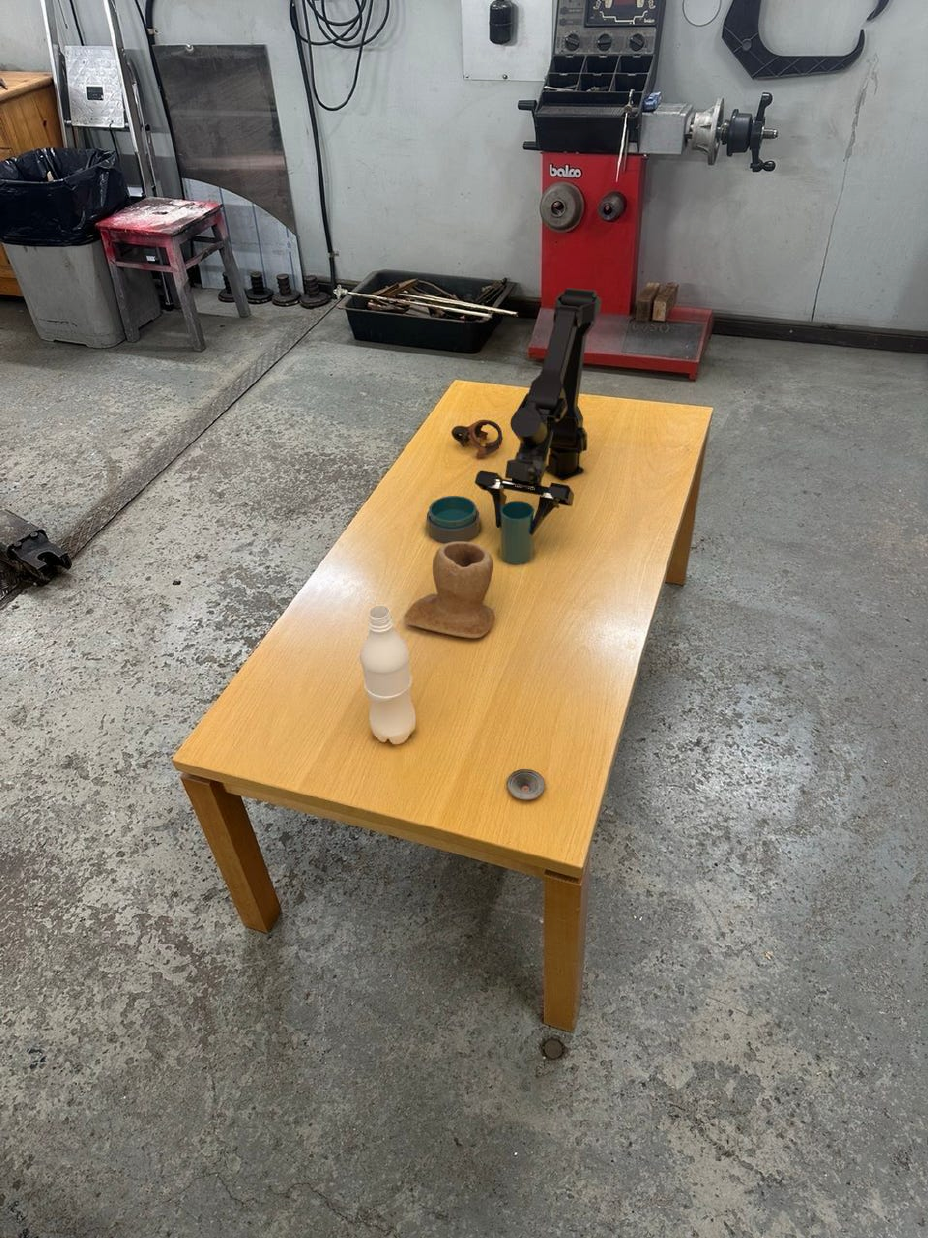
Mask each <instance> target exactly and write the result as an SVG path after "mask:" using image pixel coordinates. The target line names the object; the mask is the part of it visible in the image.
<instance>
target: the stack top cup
mask: <svg viewBox="0 0 928 1238" xmlns="http://www.w3.org/2000/svg"><path fill="white" fill-rule="evenodd" d="M476 508H477V505H476V504H475V502H474V501H472V500H471V499H470V498H467V497H465V496H460V495H448V496H443V497H440V498H438V499H435V500H434V501H432V502H431V504H430V505H429V509H428V511H429V518H430V521H431V522H432V523H433V524H434V525H436V526H438V527H440V528H445V529H458V528H463V527H466V526H468V525H470V524H471V523H473V522H474V521H475V519H476Z"/></svg>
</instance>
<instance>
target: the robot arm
mask: <svg viewBox="0 0 928 1238" xmlns="http://www.w3.org/2000/svg"><path fill="white" fill-rule="evenodd" d="M601 308H602V297H600V296H598V292H597V291H596V290H589V289H580V288H570V287H567V288H566V289H565V290H564V292H563V293H559V294H558V295H557V296H556V297H555V298H554V311H553V312H554V313H553V318H552V319H553V321H552V322H553V326H552V330H551V333H550V338H549V340H548V345H547V349H546V352H545V357H544V359H543V364H542V368H541V371H540V374H539V375H538V376H537V377H535V379H533V380H532V382H531V384H530V386H529V390H528V392H527V393H526V394H525V395H524V397H523V399H522V401H521V403H520V405H519V407H518V408H517V410H516V411H515V412H514V413H513V414H512V416H511V418H510V424H509V425H510V428H511V431H512V432H513V434H514V435H515V436H516V438H517V439H518V440H519V441H520V443H519V447H518V450H517V451H516V453H515V457H514V459H509V460H507V461H506V467H505V468H506V469H505V475H504V478H502V476H500V474H499V473H498V472H494V471H489V470H480V471H478V472H477V473H476V475H475V480H474V484H475V485H476V486H477V487H478V488H479V489H480V490H483V491H486V492H488V494H490V495H491V497H492V501H493V506H494V518H495V528H497V529H500V508H501V507H502V506H503V505H504V504H506V503H507V497H508V495H506V494H505V492H506V490H508V491H514V492H519V493H524V494H530V495H535V496H539V497H538V498H539V499H538V506H537V508H536V512H535V514H534V521H533V524H532V527H531V532H530V534H531V535H533V534H534V535H535V533H536V532H537V530H538V529H539V528H540V526H541V524H542V523H543V522H544V520H545V519H546V518H547V517H548V515H549V514H550V513H551V512H552V511H553V510H554V509H559V508H560V505H563V506H568V507H572V506H573V503H574V500H575V492H574V491H573V490H572V488H571V487H570V485H569V484H562V483H557V482H556V483H555V482H550V484H549V486H545V485H543V484H542V481H543V477H544V476H545V472H546V471H547V472H548V473H550V474H551V475H553V476H554V477H556V478H557V479H559V480H560V481H565V480H567V479H569V478H572V477H574V476H577V475H580V474H582V473H584V472H585V471H584V470H585V469H584V468H583V467H581V466H580V461H581V460H580V459H581V454H582V453H583V452H585V451H587V449H588V433H587V431H586V430H585V427H583V426H584V416H583V414H582V411H581V410H580V407H579V397H580V391H581V389H580V388H581V381H582V373H583V365H584V359H585V351H586V342H587V335H588V334H589V332H590V331H591V330H592V328H593V327H594V326H595V324H596V322H597V318H598V316H599V315H600V313H601ZM547 460H548V463H547ZM505 478H506V479H505Z"/></svg>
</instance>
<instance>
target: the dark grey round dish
mask: <svg viewBox="0 0 928 1238" xmlns="http://www.w3.org/2000/svg"><path fill="white" fill-rule="evenodd" d="M506 788H507V790H508V792H509V793H510V794H511V795H512V796H513V797H514V798H517V799H520V800H528V801H529V800H534V799H536V798H538V797H539V796H541V795H542V794H543V792H544V791H545V788H546V781H545V779H544V776H542V774H540V772H538V771H536V770H534V769H530V768H520V769H516V770H515V771H513V772H511V774H509V776H508V778H507V779H506ZM525 789H526V790H525Z"/></svg>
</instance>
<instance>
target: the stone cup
mask: <svg viewBox="0 0 928 1238" xmlns="http://www.w3.org/2000/svg"><path fill="white" fill-rule="evenodd" d="M432 561H433V562H432V574H433V576H432V577H433V581H434V586H435V589H436V593H430V594H428V595H427V594H426V595H425V596H424V597H421V598H419V599H417V600H416V601H414V602H413V603H412V605H411V606H410V607H408V609H407V611H406V613H405V614H404V616H403V617H404V618H403V623H404V624H406V625H409V626H413V627H416V628H420V629H424V630H428V631H432V632H436V633H439V634H444V635H449V636H455V637H460V638H466V639H481V638H483V637H484V636H486V634H488V632H489V631H490V630H491V629H492V627H493V625H494V622H495V618H496V616H495V612H494V609H492V608H491V607H490V606H487V605H486V604H484V600H485V598H486V595H487V593H488V591H489V589H490V586H491V582H492V579H493V572H494V571H493V570H494V560H493V557H492V554H490V552H489V551H488V550H487V549H486V548H485V547H483V546H481V545H480V544H476V543H474V542H469V541H467V542H450V543H447V544H446V543H443V544H442V545H441V546H440V547H439V548H438V549H437V550H436V552H435V555H434V557H433V560H432Z"/></svg>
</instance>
